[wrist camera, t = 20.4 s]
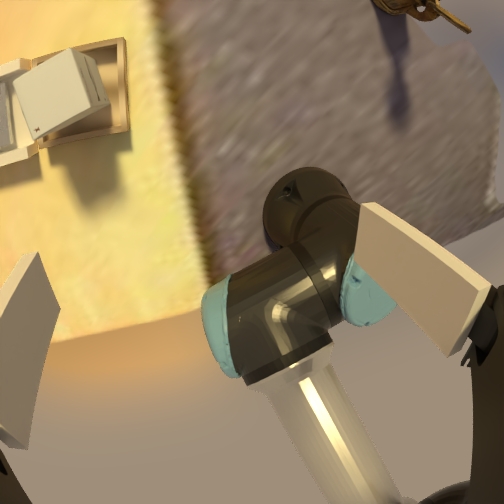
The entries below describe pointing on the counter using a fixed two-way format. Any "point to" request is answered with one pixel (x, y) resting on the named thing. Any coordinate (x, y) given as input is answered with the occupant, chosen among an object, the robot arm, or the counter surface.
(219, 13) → the counter surface
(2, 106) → the cradle platform
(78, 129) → the wooden trough
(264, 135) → the counter surface
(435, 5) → the wooden mug
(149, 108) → the counter surface
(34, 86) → the supplement box
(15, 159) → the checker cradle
